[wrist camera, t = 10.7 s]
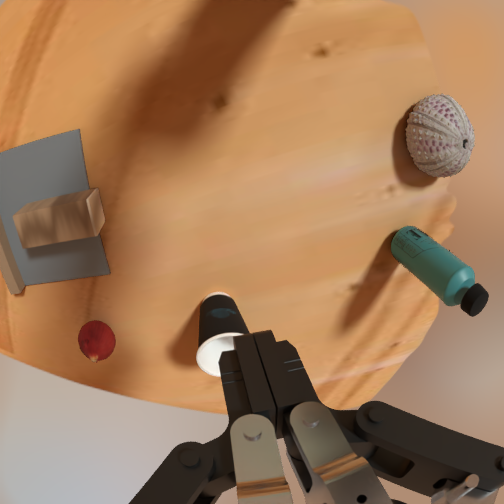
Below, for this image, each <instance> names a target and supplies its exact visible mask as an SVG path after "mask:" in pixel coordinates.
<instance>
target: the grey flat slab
mask: <svg viewBox="0 0 504 504" xmlns="http://www.w3.org/2000/svg"><path fill="white" fill-rule="evenodd" d="M84 190H90V188H89V183H88V178H87V173H86V167H85V161H84V155H83V149H82V142H81V135H80V129H77V130H73V131H69V132H65V133H61V134H58V135H54V136H51V137H47V138H44V139H40V140H37V141H34V142H31V143H27V144H24V145H21V146H18V147H15V148H12V149H9V150H7V151H4V152H1V153H0V270H1V272H2V275H3V277H4V279H5V282H6V284H7V286H8V289H9V291H10V293H11V294H19V293H21V292H22V290H23V288H24V287H25V285H33V284H40V283H48V282H55V281H63V280H70V279H78V278H85V277H93V276H100V275H107V274H110V269H109V266H108V262H107V259H106V255H105V252H104V248H103V244H102V240H101V237H100V233H99V234H98V236H94V237H88V238H82V239H76V240H70V241H64V242H59V243H53V244H47V245H42V246H37V247H31V248H26V249H23V248H22V245H21V242H20V239H19V236H18V233H17V230H16V226H15V223H14V220H13V215H14V214H15V213H16V212H18V211H19V210H20V209H21V208H22V207H23V206H25V205H26V204H27V203H31V202H35V201H39V200H43V199H47V198H52V197H56V196H61V195H65V194H70V193H75V192H80V191H84Z"/></svg>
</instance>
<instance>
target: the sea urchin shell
mask: <svg viewBox="0 0 504 504" xmlns="http://www.w3.org/2000/svg"><path fill="white" fill-rule="evenodd" d="M406 121H407V123H408V125H407V128H406V129H405V130H406V137H407V138H406V141H407V146H408V148H407V149H408V150H409V152H410V153H411V155H410V156H411V157H413V161H414V164H415V165H417V167H419V170H422V171H423V172H426V173H427V174H428V175H432V177H435V176H436V177H438V178H439V177H444V178H445V177H448V176H450V177H451V176H452V175H456V174H457V173H459V172H460V171H461V170H462V169H463V168H464V167H465V166H466V164H467V163H468V161H469V160H470V155H471V151H472V149H473V147H474V141H475V135H474V130H473V126H472V125H471V123H470V121H469V119H468V117H467V116H466V114H465V112H464V110H463V109H462V108H461V105H458V102H456V101H455V100H453V98H452V97H450V96H449V95H444V94H441V95H439V94H438V95H431V96H427V97H425V98H424V99H423V100H420V102H419V103H416V106H415V107H414V108H413V112H411V113H409V119H408V120H406Z"/></svg>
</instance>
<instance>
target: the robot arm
mask: <svg viewBox="0 0 504 504" xmlns="http://www.w3.org/2000/svg"><path fill="white" fill-rule="evenodd" d="M233 344H234V350H229V351H223V352H222V353H221V356H220V359H219V362H218V364H219V369H220V375H221V380H222V386H223V391H224V396H225V401H226V406H227V411H228V416H229V424H228V427H227V429H226V430H225V432H224V433H223V434H222V435H221V436H219V437H218V438H216V439H214V440H212V441H209V442H207V443H205V444H201V443H197V442H185V443H182V444H179V445H177V446H176V447H175V448H174V449H173V450H172V451H171V452H170V454H169V455H168V456H167V457H166V459H165V460H164V461H163V463H162V464H161V465H160V466H159V468H158V469H157V470H156V471H155V472H154V474H153V475H152V476H151V478H150V479H149V480H148V481H147V482H146V483H145V485H144V486H143V487H142V489H141V490H140V491H139V492H138V493H137V494H136V496H135V497H134V498H133V499H132V500H131V502H130V503H129V504H215V503H216V501H217V500H218V498H219V497H220V495H221V493H222V492H224V491H226V490H228V489H231V488H233V487H235V486H237V496H238V504H293V500H292V496H291V491H290V488H289V485H288V483H287V481H286V479H285V475H284V471H283V466H282V462H281V457H280V453H279V449H278V444H277V439H280V438H284V441H285V444H286V447H287V448H286V455H287V457H288V459H289V462H290V464H291V467H292V469H293V471H294V473H295V475H296V478H297V480H298V482H299V485H300V487H301V489H302V491H303V494H304V496H305V502H306V504H406V503H404V502H401V501H398V500H394V499H390V498H389V496H388V494H387V493H386V491H385V489H384V488H383V486H382V484H381V482H380V481H379V479H378V477H381V478H383V479H385V480H388V481H390V482H392V483H395V484H397V485H400V486H403V487H405V488H407V489H410V490H412V491H415V492H418V493H420V494H423V495H426V496H429V497H432V499H431V504H494V502H495V499H496V496H497V493H498V490H499V488H500V487H501V486H503V485H504V448H503V447H500V446H497V445H494V444H491V443H488V442H485V441H482V440H479V439H476V438H473V437H470V436H467V435H464V434H462V433H459V432H456V431H453V430H450V429H448V428H445V427H443V426H440V425H437V424H435V423H432V422H429V421H427V420H425V419H422V418H419V417H417V416H415V415H412V414H410V413H407V412H405V411H402V410H400V409H398V408H395V407H393V406H391V405H388V404H386V403H384V402H380V401H370V402H367V403H365V404H363V405H362V406H361V407H360V408H359V409H358V410H334V409H331V408H329V407H327V406H325V405H324V404H323V403H321V401H320V400H319V399H318V397H317V395H316V392H315V390H314V388H313V386H312V383H311V381H310V379H309V377H308V375H307V372H306V370H305V369H304V366H303V363H302V361H301V360H300V357H299V355H298V352H297V350H296V348H295V347H294V346H293V345H291V344H290V343H289V342H288V341H287V340H284V341H279V342H276V340H275V338H274V335H273V333H272V331H271V330H266V331H261V332H255V333H252V334H251V333H250V334H244V335H238V336H233ZM377 476H378V477H377Z"/></svg>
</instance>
